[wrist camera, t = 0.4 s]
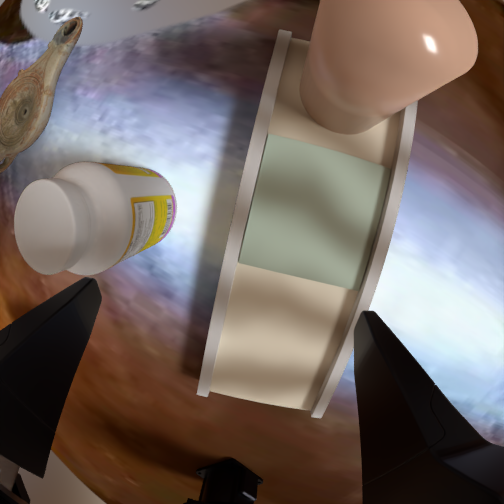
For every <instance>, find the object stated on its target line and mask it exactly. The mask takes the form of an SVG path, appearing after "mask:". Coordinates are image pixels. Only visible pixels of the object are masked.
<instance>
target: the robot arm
mask: <svg viewBox="0 0 504 504" xmlns="http://www.w3.org/2000/svg"><path fill="white" fill-rule="evenodd" d="M101 301H102V296H101V293H100V290H99V287H98V284H97V281H96V280H95V279H94V278H89V277H84V278H82V279H81V280H79V281H77V282H76V283H74V284H72V285H71V286H69V287H67V288H66V289H64V290H63V291H61V292H59V293H58V294H56V295H54V296H53V297H51V298H50V299H48V300H46V301H45V302H43V303H42V304H40V305H38V306H37V307H35V308H34V309H32V310H31V311H29V312H27V313H26V314H24V315H23V316H21V317H20V318H18V319H17V320H15V321H14V322H12V324H9V325H8V326H6V327H5V328H3V329H2V330H0V504H30V499H29V496H28V494H27V491H26V489H25V486H24V484H23V481H22V478H21V475H20V474H18V471H19V468H20V467H21V468H23V469H25V470H27V471H29V472H31V473H33V474H35V475H36V476H38V477H40V478H43V477H44V474H45V470H46V465H47V461H48V457H49V454H50V450H51V446H52V443H53V439H54V436H55V432H56V428H57V425H58V422H59V419H60V416H61V412H62V409H63V406H64V403H65V400H66V398H67V395H68V392H69V389H70V386H71V383H72V381H73V378H74V375H75V373H76V370H77V368H78V365H79V362H80V360H81V357H82V355H83V352H84V350H85V348H86V345H87V343H88V340H89V338H90V335H91V332H92V329H93V326H94V322H95V319H96V316H97V313H98V310H99V307H100V304H101ZM354 376H355V386H356V395H357V405H358V415H359V427H360V441H361V458H362V485H363V486H362V492H363V504H504V447H503V446H499V445H495V444H492V443H490V442H488V441H487V440H485V439H484V438H483V437H482V436H481V435H480V434H479V433H478V432H477V431H476V430H475V429H474V428H473V427H472V426H471V424H470V423H469V422H468V421H467V420H466V419H465V418H464V417H463V416H462V415H461V414H460V413H459V412H458V410H457V409H456V408H455V407H454V406H453V405H452V404H451V403H450V401H449V400H448V399H447V398H446V396H445V395H444V394H443V393H442V392H441V390H440V389H439V388H438V386H437V385H435V383H434V382H433V380H432V379H431V378H430V377H429V375H428V374H427V373H426V372H425V370H424V369H423V368H422V367H421V365H420V364H419V363H418V362H417V361H416V359H415V358H414V357H413V356H412V355H411V353H410V352H409V351H408V350H407V349H406V347H405V346H404V345H403V344H402V343H401V341H400V340H399V339H398V338H397V337H396V335H395V334H394V333H393V332H392V331H391V330H390V328H389V327H388V326H387V325H386V324H385V323H384V322H383V320H382V319H381V318H380V317H379V316H378V315H377V313H376V312H374V311H366V310H364V311H362V312H361V314H360V316H359V318H358V321H357V323H356V325H355V328H354ZM196 474H197V475H199V476H200V477H202V478H203V479H204V480H203V484H202V488H201V492H200V496H199V500H198V501H196V500H193V499H189V498H188V500H187V502H186V503H183V504H254V501H256V498H257V485H260V484H262V483H263V479H261V478H260V477H258V476H257V475H255V474H254V473H253V472H251V471H250V470H248V469H247V468H246V467H244V466H243V465H242V464H240V463H239V462H238V461H236V460H234V459H229V460H226V461H223V462H220V463H217V464H214V465H211V466H208V467H204V468H201V469H197V470H196Z"/></svg>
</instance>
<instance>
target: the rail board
mask: <svg viewBox="0 0 504 504" xmlns="http://www.w3.org/2000/svg"><path fill="white" fill-rule="evenodd" d="M291 34H292V32H289V31H284V30H279V32H278V36H277V39H276V43H275V47H274V51H273V54H272V58H271V62H270V66H269V69H268V73H267V77H266V81H265V85H264V89H263V92H262V96H261V100H260V104H259V108H258V112H257V116H256V120H255V124H254V128H253V132H252V136H251V141H250V145H249V149H248V153H247V157H246V161H245V166H244V170H243V174H242V178H241V183H240V187H239V191H238V196H237V200H236V205H235V209H234V213H233V218H232V222H231V227H230V231H229V236H228V241H227V245H226V250H225V254H224V259H223V264H222V269H221V273H220V278H219V283H218V288H217V293H216V297H215V302H214V307H213V312H212V317H211V322H210V327H209V332H208V338H207V343H206V348H205V353H204V358H203V364H202V369H201V374H200V380H199V385H198V391H197V394H198V395H201V396H205V397H208V393H209V391H212V392H216V393H220V394H224V395H228V396H232V397H237V398H241V399H246V400H251V401H256V402H261V403H266V404H272V405H277V406H283V407H289V408H296V409H303V410H310V412H311V417H315V418H321V417H322V415H323V413H324V411H325V409H326V407H327V405H328V403H329V401H330V399H331V397H332V395H333V393H334V391H335V389H336V387H337V385H338V383H339V380H340V378H341V376H342V374H343V372H344V369H345V367H346V365H347V362H348V360H349V358H350V355H351V353H352V351H353V348H354V328H355V325H356V323H357V321H358V318H359V316H360V314H361V312H362V311H364V310H366V311H368V310H369V307H370V304H371V301H372V298H373V296H374V293H375V290H376V287H377V284H378V281H379V278H380V274H381V271H382V268H383V265H384V262H385V258H386V255H387V252H388V248H389V245H390V241H391V237H392V234H393V230H394V226H395V222H396V218H397V214H398V210H399V206H400V202H401V198H402V193H403V189H404V184H405V179H406V174H407V169H408V164H409V158H410V152H411V146H412V140H413V134H414V127H415V119H416V111H417V102H418V100H417V101H415V102H414V103H412V104H410V105H408V106H407V107H405V108H403V109H402V110H400V111H398V112H397V113H395V114H393V115H392V116H390V117H388V118H387V119H385V120H384V121H382V122H380V123H379V124H377V125H375V126H374V127H372V128H371V129H369V130H367V131H365V132H362V133H359V134H352V135H346V134H339V133H335V132H332V131H330V130H328V129H326V128H324V127H322V126H321V125H319V124H318V123H317V122H316V121H314V120H313V119H312V118H311V116H310V115H309V114H308V113H307V111H306V110H305V108H304V106H303V104H302V101H301V98H300V92H299V84H300V79H301V75H302V71H303V67H304V64H305V60H306V56H307V52H308V48H309V44H310V42H308V41H304V40H300V39H295V38H291Z"/></svg>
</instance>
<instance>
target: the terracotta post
mask: <svg viewBox="0 0 504 504" xmlns="http://www.w3.org/2000/svg"><path fill="white" fill-rule="evenodd" d="M477 53H478V41H477V36H476V32H475V29H474V26H473V23H472V21H471V19H470V17H469V15H468V13H467V12H466V10H465V9H464V7H463V6H462V4H461V3H460V2H459V0H320V4H319V8H318V12H317V16H316V20H315V24H314V28H313V32H312V36H311V40H310V44H309V48H308V52H307V56H306V60H305V64H304V67H303V71H302V75H301V79H300V84H299V92H300V98H301V101H302V104H303V106H304V108H305V110H306V111H307V113H308V114H309V115H310V116H311V118H312V119H313V120H314V121H316V122H317V123H318V124H319V125H321V126H322V127H324V128H326V129H328V130H330V131H332V132H335V133H339V134H346V135H352V134H359V133H362V132H365V131H367V130H369V129H371V128H372V127H374V126H375V125H377V124H379V123H380V122H382V121H384V120H385V119H387V118H388V117H390V116H392V115H393V114H395V113H397V112H398V111H400V110H402V109H403V108H405V107H407V106H408V105H410V104H412V103H414V102H415V101H417V100H419V99H420V98H422V97H424V96H425V95H427V94H429V93H431V92H432V91H434V90H436V89H438V88H439V87H441V86H443V85H445V84H446V83H448V82H450V81H452V80H453V79H455V78H457V77H459V76H461V75H462V74H464V73H466V72H467V71H468V70H470V69H471V67H472V66H473V65H474V63H475V60H476V58H477Z"/></svg>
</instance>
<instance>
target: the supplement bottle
mask: <svg viewBox="0 0 504 504" xmlns="http://www.w3.org/2000/svg"><path fill="white" fill-rule="evenodd" d="M176 213H177V202H176V197H175V193H174V191H173V188H172V187H171V185H170V183H169V182H168V181H167V180H166V179H165V178H164V177H163V176H162V175H161V174H159V173H157V172H155V171H153V170H150V169H145V168H139V167H131V166H122V165H114V164H105V163H96V162H77V163H73V164H70V165H68V166H66V167H64V168H63V169H61V170H60V171H59V172H58V173H57V174H56V175H55V176H54V177H53V178H47V179H39V180H36V181H34V182H32V183H30V184H29V185H28V186H27V187H26V188H25V189H24V191H23V192H22V194H21V196H20V198H19V200H18V203H17V206H16V210H15V216H14V231H15V237H16V242H17V245H18V248H19V250H20V252H21V254H22V256H23V258H24V259H25V261H26V262H27V263H28V264H29V265H30V266H31V267H32V268H33V269H34V270H35V271H37V272H39V273H41V274H47V275H52V274H56V273H58V272H61V271H63V270H68V271H70V272H72V273H74V274H79V275H93V274H97V273H100V272H102V271H104V270H107V269H109V268H111V267H112V266H114V265H116V264H118V263H120V262H122V261H124V260H126V259H128V258H129V257H132V256H134V255H135V254H137V253H139V252H141V251H143V250H145V249H147V248H149V247H151V246H153V245H155V244H157V243H158V242H160V241H161V240H162V239H163V238H165V237H166V235H167V234H168V233H169V232H170V230H171V228H172V227H173V224H174V222H175V218H176Z"/></svg>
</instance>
